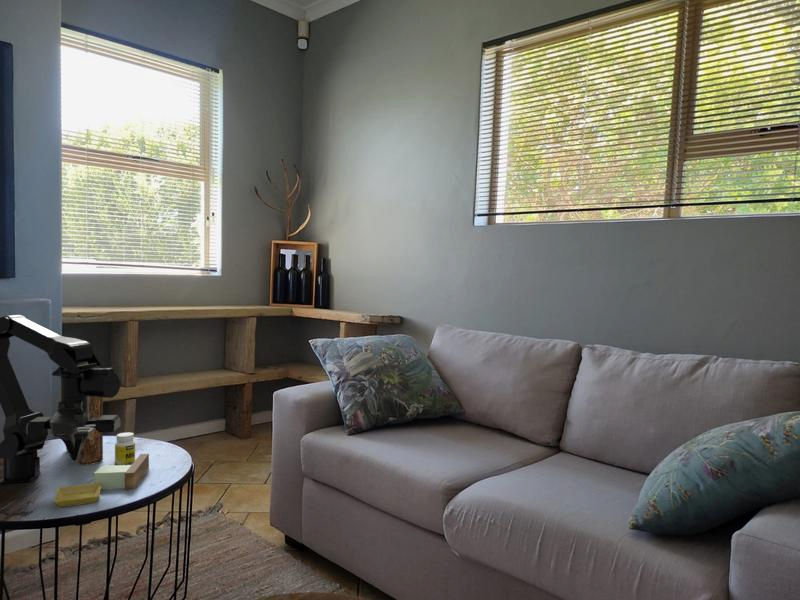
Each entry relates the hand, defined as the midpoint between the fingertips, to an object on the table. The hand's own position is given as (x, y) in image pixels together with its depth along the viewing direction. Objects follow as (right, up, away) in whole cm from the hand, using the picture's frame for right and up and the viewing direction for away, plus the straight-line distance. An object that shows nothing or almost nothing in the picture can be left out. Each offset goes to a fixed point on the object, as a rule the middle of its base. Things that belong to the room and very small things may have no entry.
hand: (75, 460), depth 134 cm
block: (+9, -6, +1) cm, 11 cm away
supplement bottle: (+5, -6, +14) cm, 16 cm away
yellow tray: (+5, -7, -8) cm, 12 cm away
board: (+13, -6, +5) cm, 15 cm away
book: (-9, -5, +21) cm, 24 cm away
